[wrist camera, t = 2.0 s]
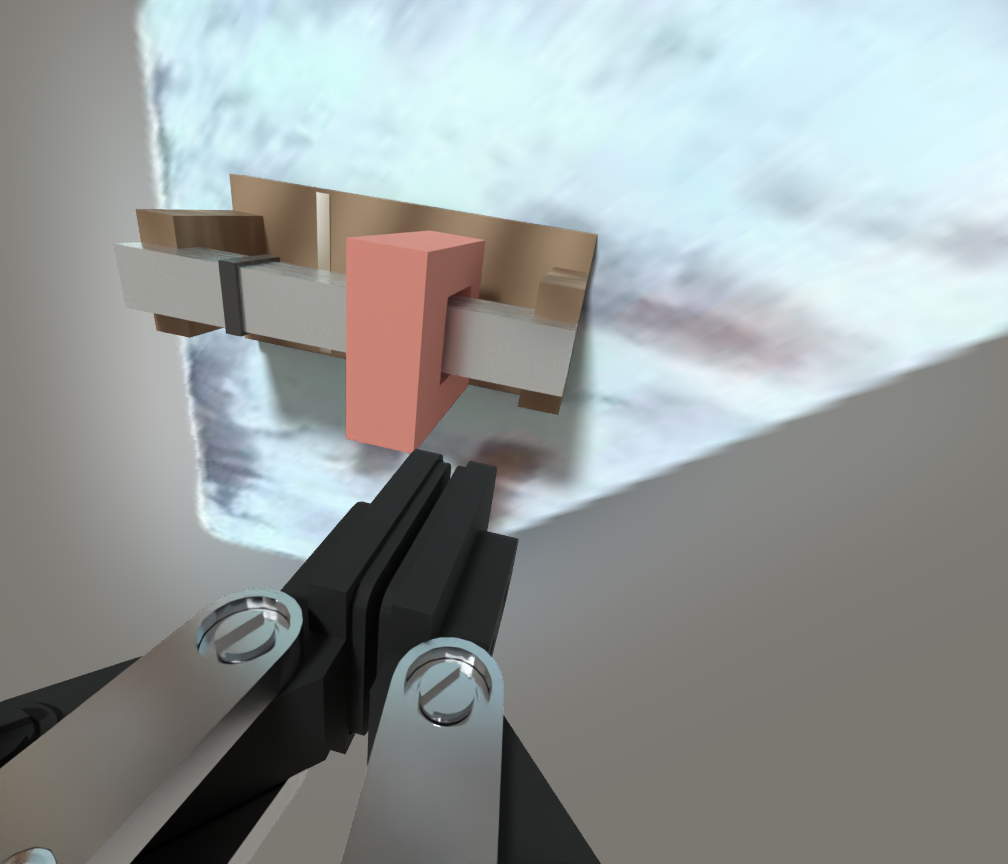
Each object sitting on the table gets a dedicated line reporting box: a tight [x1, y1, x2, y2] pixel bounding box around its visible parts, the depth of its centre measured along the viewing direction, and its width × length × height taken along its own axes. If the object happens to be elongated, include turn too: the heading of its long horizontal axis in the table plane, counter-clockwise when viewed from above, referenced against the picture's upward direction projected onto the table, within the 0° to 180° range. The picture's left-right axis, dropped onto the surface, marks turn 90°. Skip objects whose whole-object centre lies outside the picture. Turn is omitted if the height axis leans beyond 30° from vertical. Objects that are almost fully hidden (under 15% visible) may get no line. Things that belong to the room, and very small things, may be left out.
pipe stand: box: [136, 174, 597, 415], centre depth 27 cm, size 22×10×8 cm, turn 81°
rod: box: [114, 242, 579, 397], centre depth 23 cm, size 22×3×3 cm, turn 81°
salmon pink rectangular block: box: [346, 231, 486, 453], centre depth 22 cm, size 3×8×9 cm, turn 171°
